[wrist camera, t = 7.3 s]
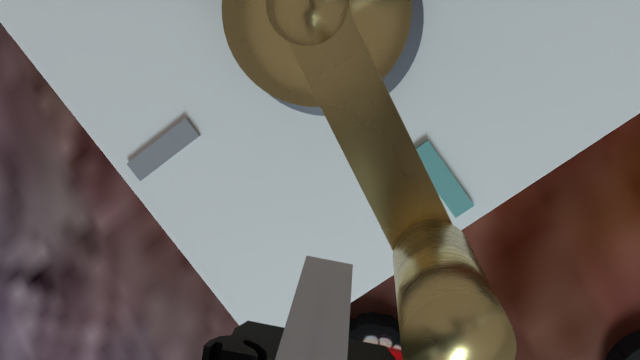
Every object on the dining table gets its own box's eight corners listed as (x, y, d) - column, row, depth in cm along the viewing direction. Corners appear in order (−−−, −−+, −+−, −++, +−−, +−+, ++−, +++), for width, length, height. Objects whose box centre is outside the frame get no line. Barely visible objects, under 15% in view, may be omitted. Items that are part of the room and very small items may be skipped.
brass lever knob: (204, -24, 22) (51, -98, 12) (360, -112, 21) (346, -282, 11) (359, 277, 24) (348, 448, 13) (511, 209, 23) (627, 337, 12)
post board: (409, -393, 24) (418, -511, 19) (702, 61, 26) (777, 61, 21) (-12, -12, 28) (-93, -27, 23) (269, 347, 31) (249, 402, 26)
